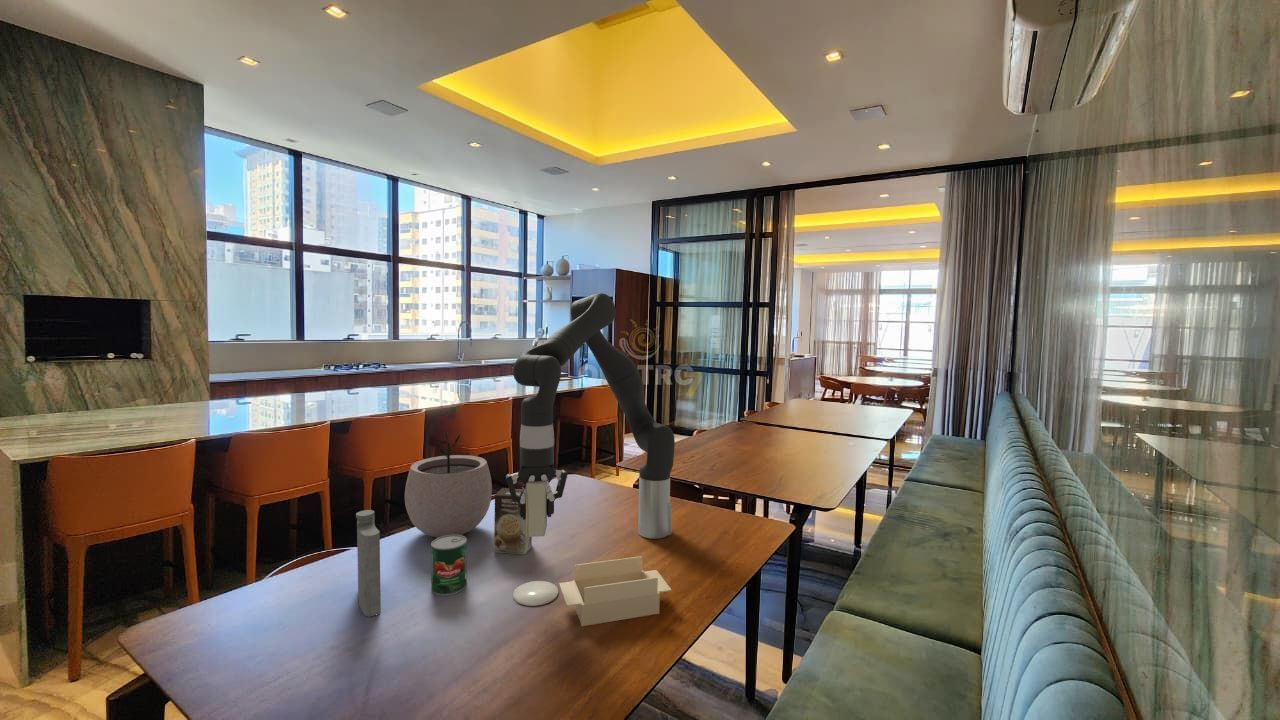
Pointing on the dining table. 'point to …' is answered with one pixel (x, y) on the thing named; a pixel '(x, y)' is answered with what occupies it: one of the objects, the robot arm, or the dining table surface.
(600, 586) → the carton
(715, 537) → the dining table surface
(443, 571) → the canned tomato
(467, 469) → the plant pot
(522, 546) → the coffee box
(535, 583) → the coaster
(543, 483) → the skincare box
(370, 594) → the hip flask
